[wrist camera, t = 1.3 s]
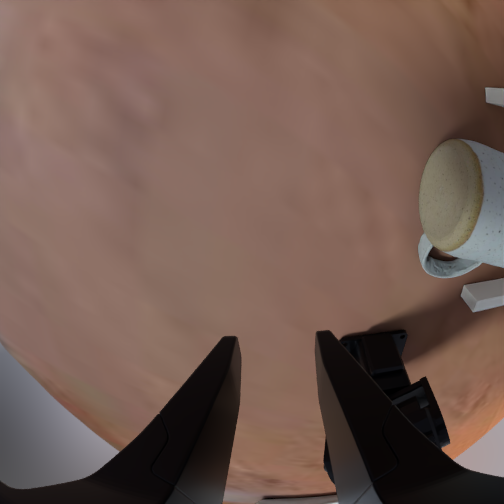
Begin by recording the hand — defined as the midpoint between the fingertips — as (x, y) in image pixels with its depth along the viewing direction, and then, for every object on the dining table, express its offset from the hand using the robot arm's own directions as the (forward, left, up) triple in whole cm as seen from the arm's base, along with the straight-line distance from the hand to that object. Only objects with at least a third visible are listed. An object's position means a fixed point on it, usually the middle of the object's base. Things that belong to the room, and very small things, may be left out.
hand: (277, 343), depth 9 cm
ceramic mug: (0, -14, -12) cm, 19 cm away
